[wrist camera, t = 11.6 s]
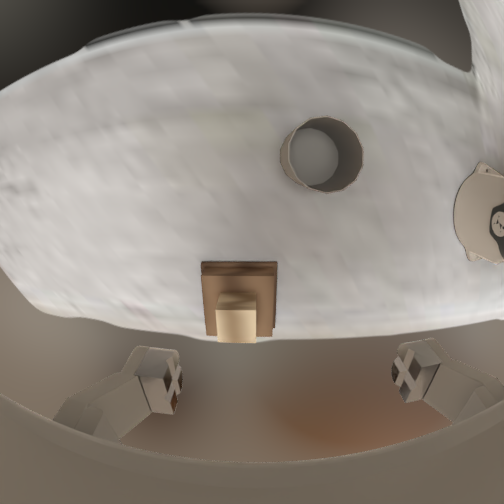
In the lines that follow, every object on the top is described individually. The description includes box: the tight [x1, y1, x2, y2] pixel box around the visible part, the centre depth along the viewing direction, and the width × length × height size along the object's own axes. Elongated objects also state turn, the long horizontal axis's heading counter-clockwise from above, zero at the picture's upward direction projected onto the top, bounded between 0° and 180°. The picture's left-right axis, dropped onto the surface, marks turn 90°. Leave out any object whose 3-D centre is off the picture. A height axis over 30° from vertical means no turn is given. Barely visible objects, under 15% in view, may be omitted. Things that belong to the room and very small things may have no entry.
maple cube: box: [215, 292, 256, 343], centre depth 36 cm, size 5×5×5 cm
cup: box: [280, 116, 364, 194], centre depth 31 cm, size 8×8×10 cm
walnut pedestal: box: [201, 262, 277, 337], centre depth 41 cm, size 11×11×4 cm
